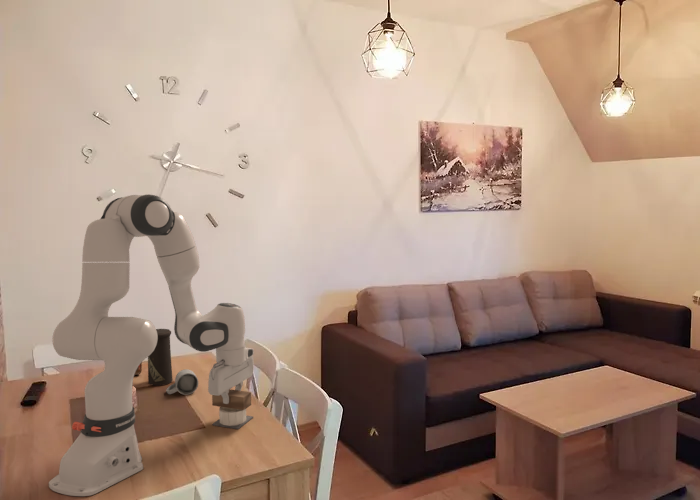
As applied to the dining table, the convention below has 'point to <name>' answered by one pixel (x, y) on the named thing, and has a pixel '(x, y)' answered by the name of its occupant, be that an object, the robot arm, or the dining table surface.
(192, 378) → the ceramic mug
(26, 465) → the dining table surface
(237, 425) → the mat
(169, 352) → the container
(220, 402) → the brown wooden block
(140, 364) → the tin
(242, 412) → the bowl
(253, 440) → the dining table surface
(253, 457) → the dining table surface
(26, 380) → the dining table surface
